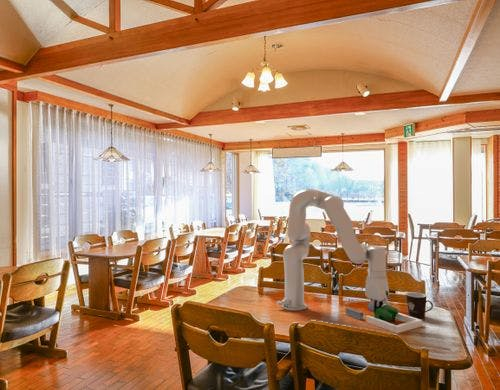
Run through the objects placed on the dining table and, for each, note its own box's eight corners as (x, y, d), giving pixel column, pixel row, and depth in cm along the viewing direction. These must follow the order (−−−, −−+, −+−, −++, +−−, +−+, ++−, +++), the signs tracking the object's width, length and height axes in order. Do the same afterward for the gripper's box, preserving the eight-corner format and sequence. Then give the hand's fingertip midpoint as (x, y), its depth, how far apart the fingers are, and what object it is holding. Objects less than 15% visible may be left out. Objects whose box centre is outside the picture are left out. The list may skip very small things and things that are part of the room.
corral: (397, 333, 146) (397, 327, 146) (366, 321, 160) (366, 316, 160) (422, 326, 154) (422, 320, 154) (390, 315, 168) (390, 310, 168)
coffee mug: (402, 314, 170) (402, 292, 170) (420, 313, 171) (420, 292, 171) (416, 322, 159) (415, 299, 159) (434, 321, 159) (434, 298, 159)
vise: (360, 320, 162) (360, 313, 163) (345, 314, 170) (345, 308, 170) (393, 311, 174) (393, 305, 174) (378, 306, 182) (378, 300, 182)
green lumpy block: (385, 334, 157) (387, 318, 153) (372, 326, 161) (374, 311, 157) (398, 317, 164) (400, 302, 160) (386, 311, 168) (388, 296, 164)
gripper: (358, 271, 170) (359, 311, 169) (385, 277, 157) (385, 320, 157) (369, 270, 173) (370, 308, 173) (396, 275, 161) (397, 317, 160)
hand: (377, 314), depth 165 cm, fingers closed
